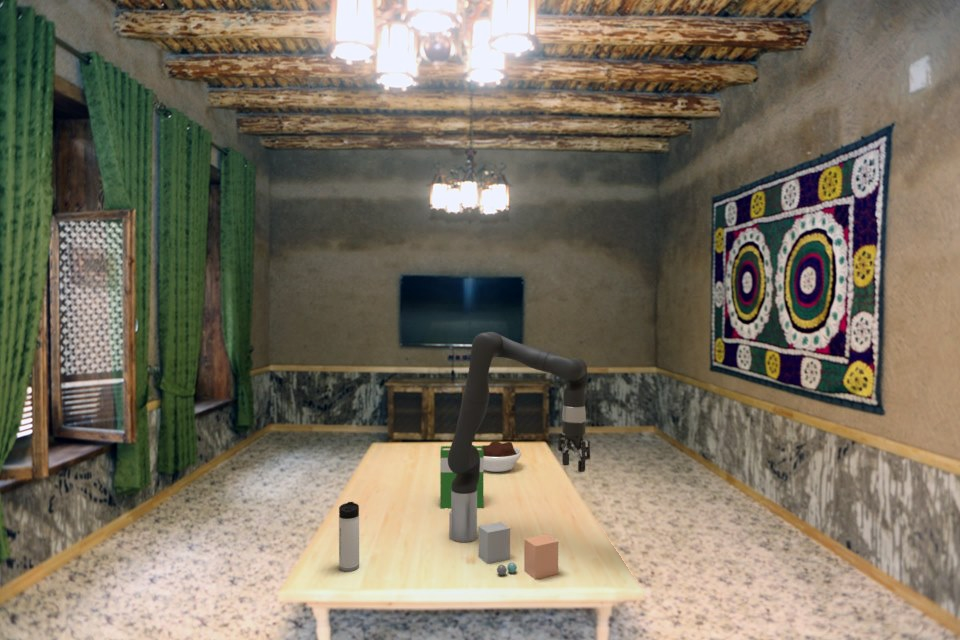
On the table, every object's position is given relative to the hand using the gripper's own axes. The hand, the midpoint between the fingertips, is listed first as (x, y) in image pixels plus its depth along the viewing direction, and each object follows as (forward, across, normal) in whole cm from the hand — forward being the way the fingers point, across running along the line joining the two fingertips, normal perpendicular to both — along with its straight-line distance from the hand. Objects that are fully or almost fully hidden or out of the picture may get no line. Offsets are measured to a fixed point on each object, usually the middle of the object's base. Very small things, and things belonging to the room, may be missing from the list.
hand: (573, 468), depth 196 cm
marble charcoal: (+30, -1, -27) cm, 40 cm away
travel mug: (+30, -28, -67) cm, 79 cm away
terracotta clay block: (+30, +3, -15) cm, 34 cm away
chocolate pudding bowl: (+30, -104, +29) cm, 112 cm away
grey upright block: (+30, -13, -23) cm, 40 cm away
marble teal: (+30, -1, -23) cm, 38 cm away
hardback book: (+30, -64, -10) cm, 71 cm away
